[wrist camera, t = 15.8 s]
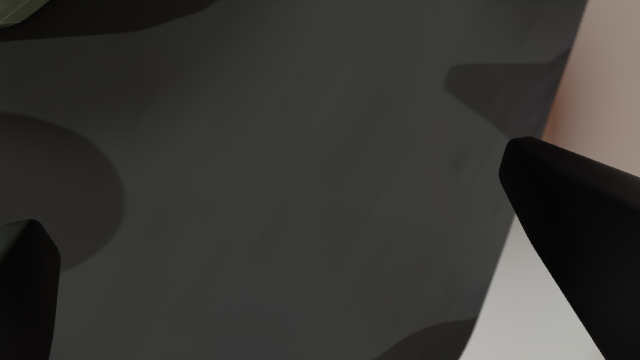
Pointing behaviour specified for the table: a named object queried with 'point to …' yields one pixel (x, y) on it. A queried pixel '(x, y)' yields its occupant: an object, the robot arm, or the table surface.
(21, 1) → the big bowl
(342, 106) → the table surface
